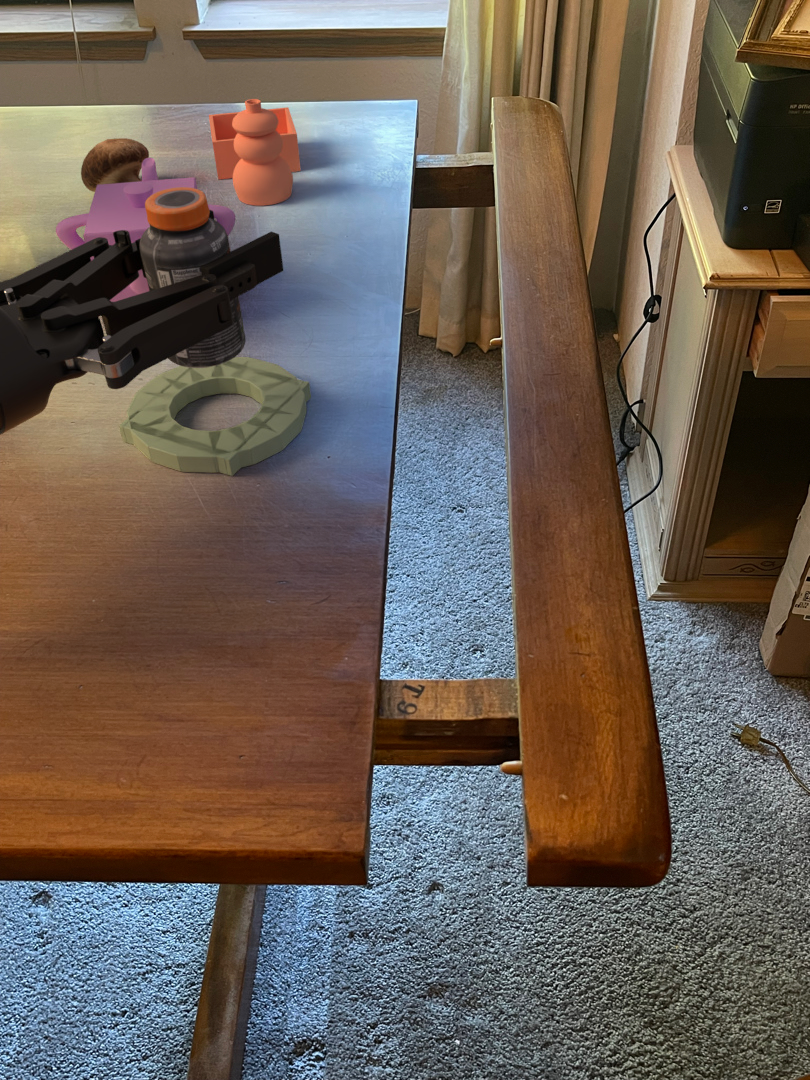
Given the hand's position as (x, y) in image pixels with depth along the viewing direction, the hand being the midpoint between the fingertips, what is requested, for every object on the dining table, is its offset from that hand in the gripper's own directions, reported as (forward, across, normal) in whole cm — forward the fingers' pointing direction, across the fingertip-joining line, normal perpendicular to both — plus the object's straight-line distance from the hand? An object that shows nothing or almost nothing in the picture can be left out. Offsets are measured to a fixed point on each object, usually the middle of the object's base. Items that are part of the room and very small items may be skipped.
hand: (243, 239), depth 68 cm
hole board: (-5, 0, -13) cm, 14 cm away
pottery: (+31, -32, -13) cm, 47 cm away
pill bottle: (-5, 0, -7) cm, 8 cm away
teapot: (+5, -18, -13) cm, 23 cm away
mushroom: (+19, -42, -13) cm, 48 cm away
